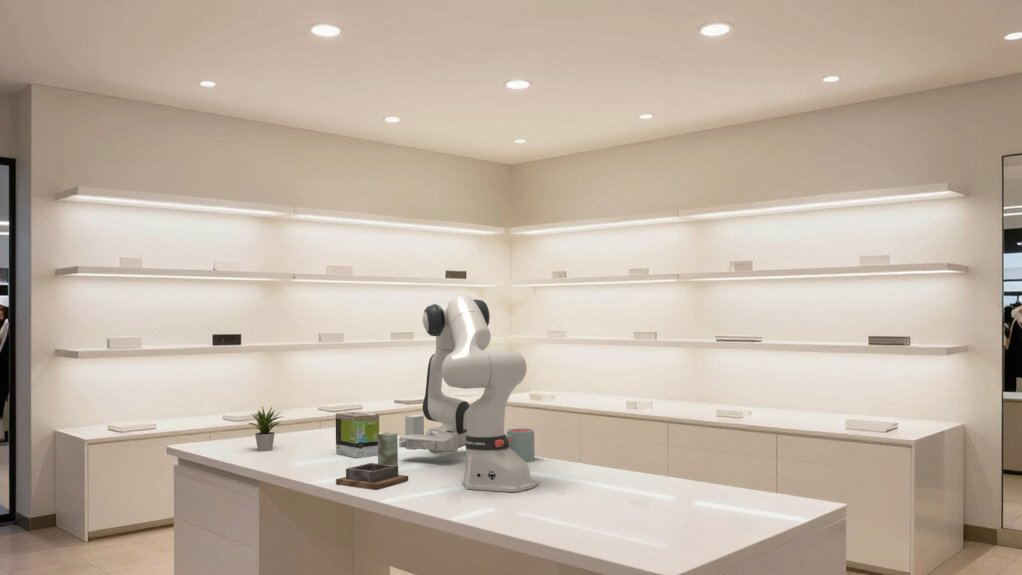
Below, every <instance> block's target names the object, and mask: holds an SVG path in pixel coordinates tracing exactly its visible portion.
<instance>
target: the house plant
mask: <svg viewBox="0 0 1022 575" xmlns="http://www.w3.org/2000/svg"><path fill="white" fill-rule="evenodd" d="M261 410H262V412H261ZM261 410H259V409H257V413H256V412H254V414H255V415H254V414H253V413H251V416H252V417H253V418H254V419H255V421H256V422H257V424H256V423H253V422H250V423H248V425H252V426H255V427H256V430H259V431H258V432H256V433H254V435H255V442H256V446H257V451H259V452H269V451H273V447H274V438H275V433H276V432H275V431H271V430H273V427H275V426H277V427H278V428H280V427H279V425H280V422H281V420H280V421H277V422H274V421H275V420H278V419H281V418H284V417H285V415H283V416H279V415H280V414H281V413H283V412H284V410H282V411H278V412H277V409H274V410H273V406H271V407H270V408H269V410H268V412H267V413H265V409H264V407H263V406H262V407H261ZM277 416H278V417H277Z"/></svg>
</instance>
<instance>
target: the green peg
mask: <svg viewBox="0 0 1022 575" xmlns="http://www.w3.org/2000/svg"><path fill="white" fill-rule="evenodd" d="M398 447H399V439H398V433H395V432H384V433H383V432H382V433H379V434H378V455H377V464H386V465H395V466H398V467H399V458H398V457H399V454H398V453H399V450H398Z"/></svg>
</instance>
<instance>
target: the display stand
mask: <svg viewBox="0 0 1022 575" xmlns="http://www.w3.org/2000/svg"><path fill="white" fill-rule="evenodd" d="M408 481H409V475H404V474H399V465H398V466H395V465H386V464H378V462H377V463H375V462H369V463H365V464H360V465H356V466H352V467H348V468H345V476H344V477H339V478H336V479H335V485H340V486H346V487H347V486H348V487H353V488H355V487H356V488H362V489H369V490H375V491H376V490H380V489H381V490H382V489H383V488H387V487H392V486H395V485H399V484H401V483H405V482H408Z"/></svg>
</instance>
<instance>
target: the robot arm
mask: <svg viewBox="0 0 1022 575" xmlns="http://www.w3.org/2000/svg"><path fill="white" fill-rule="evenodd" d="M490 316H491V315H490V310H489V308H488V305H487V303H486V302H485V301H484V300H481V299H473V297H471V296H468V295H465V294H462V295H456V296H455V297H453V298H451V300H450V301H446V302H442V303H438V304H436V303H435V304H434V303H433V304H431V305H428V306H426V308H425V309H424V311H423V315H422V324H423V327H424V329H425V331H426V333H427V334H428V335H429V336H431V337H435V352H434V353H432V355H431V356H430V358H429V361H428V364H427V373H426V383H425V392H424V393H425V394H424V399H423V402H422V406H421V407H422V408H421V410H422V413H423V415H424V418H425V419H427V420H428V421H432V422H437V423H440V424H442V425H439V426H436V427H435V426H434V427H431V428H430V429H428V430H427V431H426V433H425V434H424V435H417V434H413V435H405V434H404V435H401V436H399V439H398V447H399V448H405V447H406V448H416V449H418V450H425V451H426V450H428V451H429V452H430V453H432V454H436V455H437V454H441V453H442V454H443V453H452V452H453V453H454V452H458V449H460V448H462V447H464V448H465V452H466V455H465V456H466V457H465V458H466V459H465V468H464V473H463V479H462V481H461V484H462V485H463V486H465V489H466V490H476V491H491V492H492V491H493V492H508V493H515V492H522V491H527V490H529V489H532V488H534V487H537V486H538V485H539V482H538V479H533V478H531V472H530V468H529V464H528V462H525V461H524V460H523V459H522V458H521V457H519V456H518V455H517V454H516V453H515V452H514V451H513V450H512V449H511V448H510V445H509V442H512V441H510V440H511V439H512V438H509V439H508V438H507V437H506V435H507V434H505V417H506V407H507V404H508V400H509V399H510V396H511V394H512V393H513V391H514V390H515V388H516V387H517V386H518V385H519V384H521V383H522V382H523V380H524V379H525V377H526V376H527V375H526V374H527V371H528V370H527V362H526V359H525V357H524V356H523V355H522V353H520V352H519V351H515V350H511V349H487V348H488V347H489V345H490V343H491V339H492V338H491V336H492V335H491V331H490V329H489V327H488V326H489V324H490V318H491V317H490ZM486 349H487V350H486ZM443 380H444V382H445V384H446V385H447V386H449V387H452V388H457V389H463V390H465V389H483V388H484V390H483V393H482V395H481V397H480V398H479V399H476V400H474V401H473V402H472V403H471V404H470V403H469V402H468V401H466V400H464V399H463V400H462V399H459V398H456V397H452V396H449V395H446V394H444V393H443V391H442V385H443ZM406 448H405V449H406ZM416 449H415V450H416Z"/></svg>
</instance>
